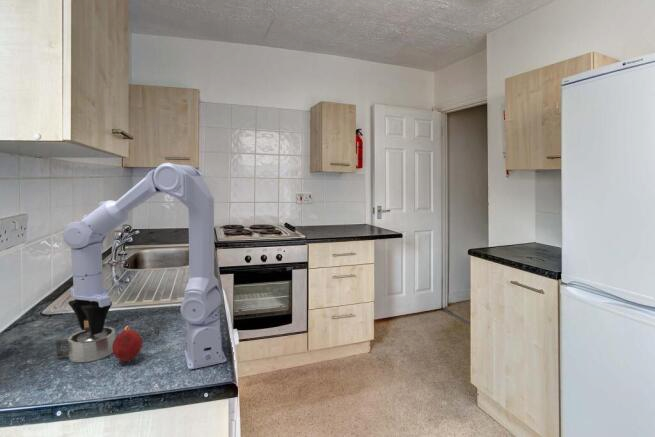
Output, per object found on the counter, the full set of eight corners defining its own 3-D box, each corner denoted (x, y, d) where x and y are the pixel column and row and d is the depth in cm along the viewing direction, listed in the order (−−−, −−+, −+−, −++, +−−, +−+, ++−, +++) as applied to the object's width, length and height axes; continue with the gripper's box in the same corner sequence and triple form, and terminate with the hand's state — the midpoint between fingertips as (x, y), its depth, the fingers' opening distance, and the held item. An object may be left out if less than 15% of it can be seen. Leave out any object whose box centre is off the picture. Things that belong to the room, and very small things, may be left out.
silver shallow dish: (114, 357, 81) (113, 338, 80) (53, 368, 76) (51, 348, 75) (117, 341, 89) (116, 324, 88) (62, 351, 84) (60, 332, 83)
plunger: (106, 340, 81) (105, 321, 81) (74, 346, 78) (73, 326, 78) (108, 331, 86) (107, 312, 86) (79, 335, 84) (77, 317, 83)
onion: (139, 365, 77) (138, 330, 76) (109, 369, 75) (107, 333, 75) (145, 353, 82) (143, 320, 82) (117, 357, 81) (115, 323, 80)
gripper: (122, 274, 80) (126, 331, 82) (91, 266, 88) (95, 318, 89) (88, 281, 74) (92, 343, 76) (58, 271, 82) (62, 328, 83)
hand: (91, 330), depth 82 cm, fingers open, 4 cm apart
